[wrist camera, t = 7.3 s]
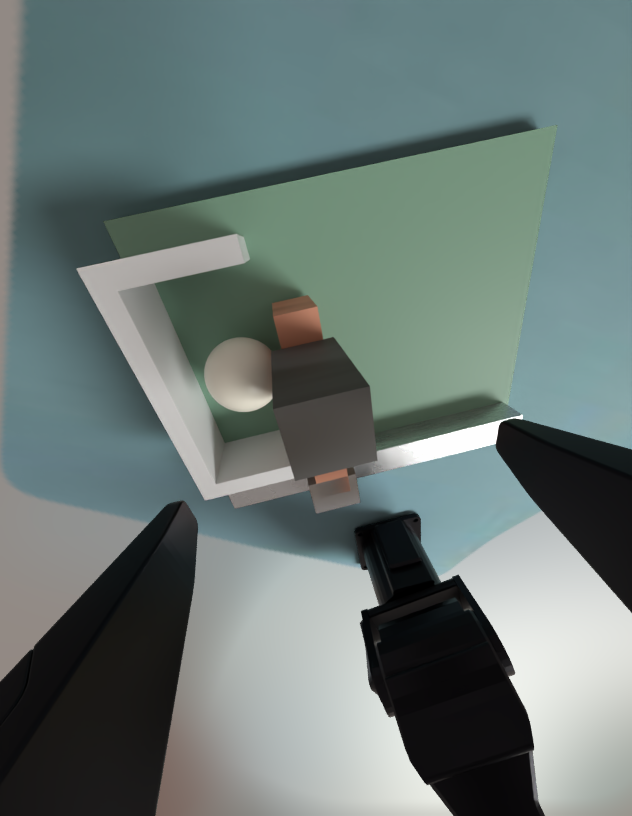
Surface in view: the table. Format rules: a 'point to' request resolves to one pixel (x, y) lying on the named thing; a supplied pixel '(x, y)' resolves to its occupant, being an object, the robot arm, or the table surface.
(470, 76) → the table surface
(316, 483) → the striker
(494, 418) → the rail
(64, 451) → the table surface
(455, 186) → the pitch
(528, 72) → the table surface
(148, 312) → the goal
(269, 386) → the ball
